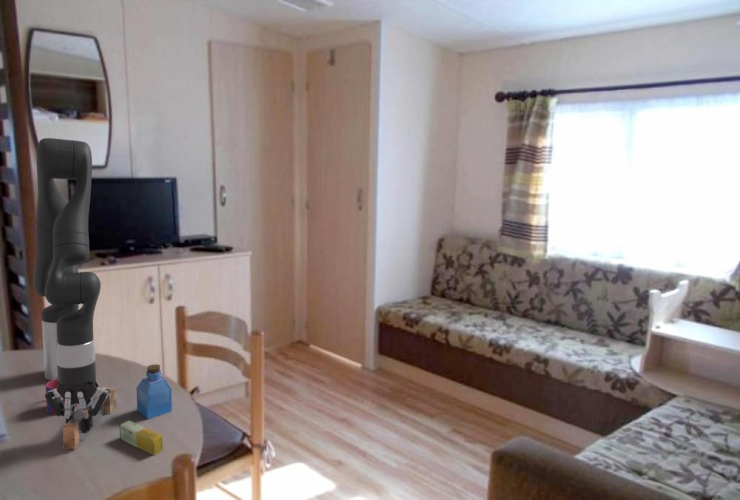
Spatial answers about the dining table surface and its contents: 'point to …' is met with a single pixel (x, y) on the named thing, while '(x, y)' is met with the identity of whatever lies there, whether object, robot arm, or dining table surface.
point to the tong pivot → (109, 401)
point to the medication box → (141, 437)
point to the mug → (49, 386)
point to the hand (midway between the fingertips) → (79, 431)
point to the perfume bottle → (154, 394)
